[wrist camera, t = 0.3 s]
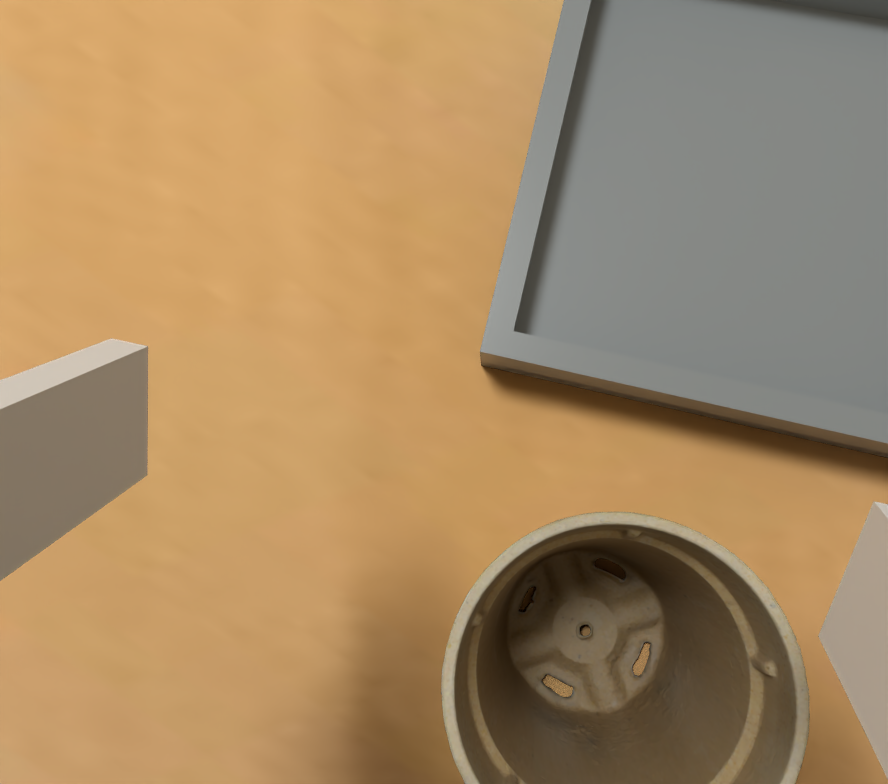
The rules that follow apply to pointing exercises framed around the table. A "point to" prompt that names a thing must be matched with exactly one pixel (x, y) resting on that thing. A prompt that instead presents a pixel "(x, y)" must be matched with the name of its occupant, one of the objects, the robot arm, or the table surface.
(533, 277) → the tray
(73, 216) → the table surface
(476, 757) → the flower pot
